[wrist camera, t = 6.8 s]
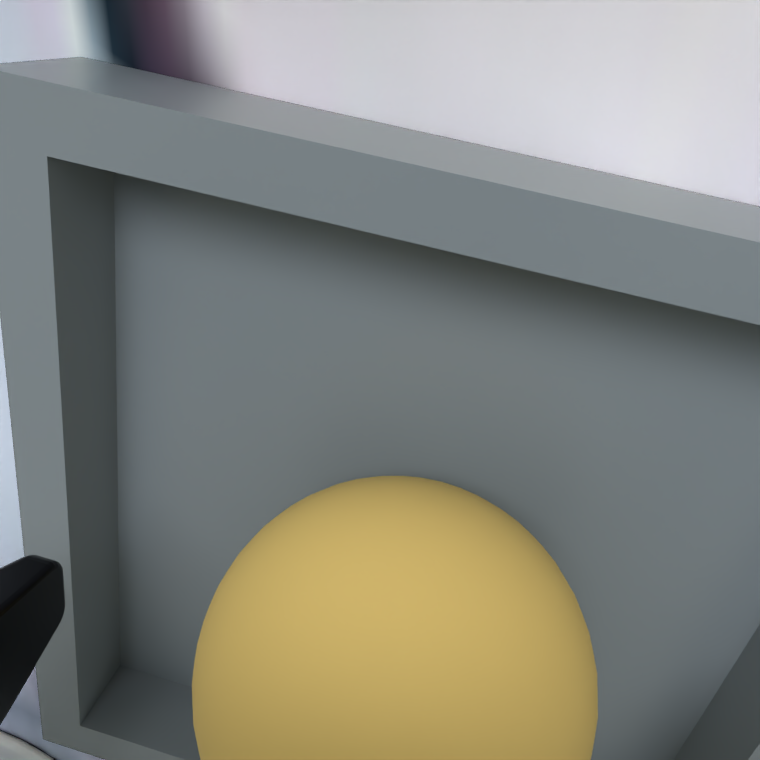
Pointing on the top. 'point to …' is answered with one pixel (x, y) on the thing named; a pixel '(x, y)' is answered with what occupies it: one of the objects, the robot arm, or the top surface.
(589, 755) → the ball
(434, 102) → the top surface
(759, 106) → the top surface
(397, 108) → the top surface
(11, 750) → the lidded jar
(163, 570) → the tray
